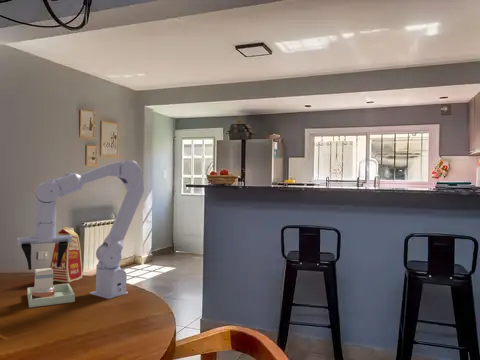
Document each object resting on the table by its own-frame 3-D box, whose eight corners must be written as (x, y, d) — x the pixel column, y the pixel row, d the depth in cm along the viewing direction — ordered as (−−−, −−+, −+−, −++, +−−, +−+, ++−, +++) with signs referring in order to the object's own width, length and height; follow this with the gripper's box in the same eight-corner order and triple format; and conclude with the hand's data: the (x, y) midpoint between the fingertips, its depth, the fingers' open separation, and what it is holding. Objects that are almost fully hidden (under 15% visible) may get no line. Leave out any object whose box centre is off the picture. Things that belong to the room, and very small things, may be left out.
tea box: (53, 287, 115) (53, 270, 115) (35, 289, 112) (36, 272, 112) (51, 284, 119) (51, 267, 119) (34, 285, 116) (34, 269, 116)
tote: (74, 303, 115) (74, 294, 115) (28, 308, 108) (29, 300, 108) (68, 291, 127) (68, 283, 127) (27, 295, 120) (27, 287, 121)
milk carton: (69, 283, 136) (70, 227, 136) (46, 281, 138) (47, 225, 138) (84, 277, 145) (85, 224, 145) (62, 275, 147) (64, 223, 147)
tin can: (58, 299, 116) (59, 286, 116) (39, 304, 111) (39, 290, 111) (47, 296, 119) (47, 283, 119) (27, 300, 114) (27, 287, 114)
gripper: (70, 220, 123) (68, 263, 122) (17, 221, 115) (16, 267, 115) (73, 222, 116) (71, 267, 116) (17, 224, 109) (16, 272, 109)
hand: (44, 267), depth 115 cm, fingers open, 7 cm apart
